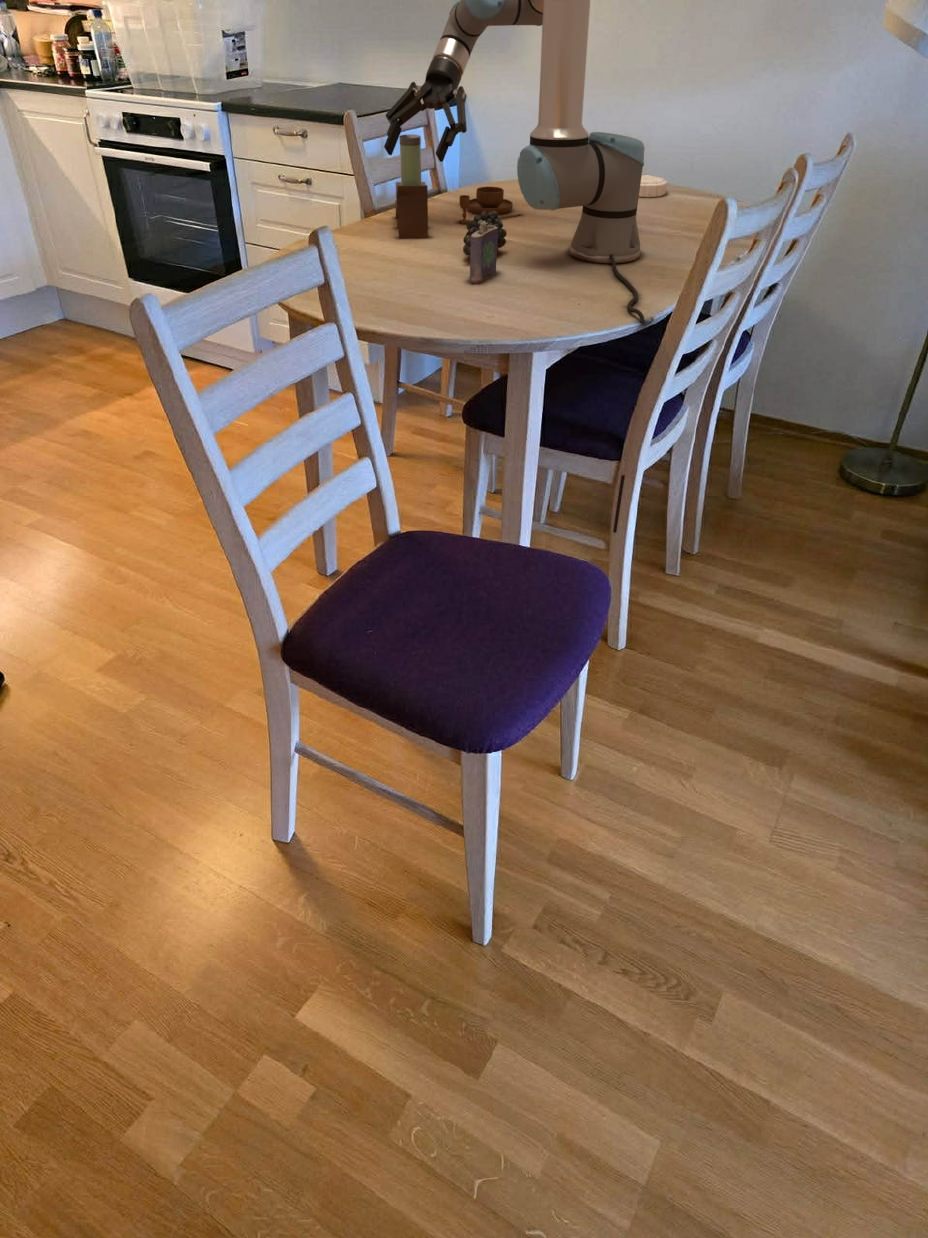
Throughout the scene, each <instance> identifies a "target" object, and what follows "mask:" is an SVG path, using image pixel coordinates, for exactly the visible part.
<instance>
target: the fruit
mask: <svg viewBox="0 0 928 1238" xmlns="http://www.w3.org/2000/svg"><path fill="white" fill-rule="evenodd" d="M498 217H500V216H499V214H498V213H497V212H496V211H492V212H490V213H489V212H487V211H483V212H482V214H478V213H475V214H474V215H473V217H472V218H473V219H472V220H469V221H470V222H469V223H467V224H465V225H466V229H467V232H466V234H465V236H463V241H462V242H463V244H464V245H463V247H462V252H463V254H464V255H465V256H467V257H468V258H469V259H470V254H471V235H472V234H473V233H474V232H476V231H478V230H480V229H479V227H480V225H481V224H480V223H481V222H480V223H479V224H478V222H479V221H481V220H483V221H485V222H486V223H488V224H486V226H487V225H491V226H495V227H498V242H497V253H498V252H499V249H501V248H502V247H504V246H505V245H506V243H507V240H506V236H507V235H508V234H507V233H508V232H507V230H506V229H505V228H503V227H504V223H503V221H502V220H501V219H498ZM483 221H482V222H483Z"/></svg>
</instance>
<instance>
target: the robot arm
mask: <svg viewBox="0 0 928 1238" xmlns="http://www.w3.org/2000/svg"><path fill="white" fill-rule="evenodd" d="M590 12H591V0H455V2H454V4H453V6H452V8H450V11H449V14H448V18H447V21H446V23H445V26H444V28H443V31H442V34H441V37H440V39H439V41H438V43H437V45H436V48H435V51H434V53H433V55H432V59H431V61H430V63H429V66H428V68H427V71H426V73H425V80H424V82H423V84H421V85H417V83H416V82H415V81H412V82H410V84H409V86H408V88H407V90H406V91H405V92H404V93H403V94H402V95H401V97H400V98H399V99H398V100H397V101H396V102H395V103H394V105H393V106H391V108H390V109H389V110H388V111H387V112H386V113H385V117H386V120H387V121H388V123H389V125H388V129H387V132H386V136H387V137H386V140H385V143H384V145H383V148H384V149H385V151H386V153H387V154H388V156H393V153H394V151H395V148H396V146H397V142H398V141H399V139H400V136H401V133H402V130H403V129H402V126H403V125H404V124H405V123H407V122H409V120H411V119H412V118H413V117H415V116H416V115H417V114H419V113H420V112H423V111H425V110H426V109H428V110H434V109H435V110H437V111H440V110H441V109H443V112H444V114H445V117H446V120H447V122H448V126H445V127H444V130H443V133H442V136H441V137H440V140H439V143H438V145H437V148H436V151H435V155H436V158H437V160H438V161H439V162H441V163H443V162H444V159H445V157H446V155H447V152H448V150H449V147H452V146H453V144H454V142H455V140H456V137H457V135H459V133H462V134H465V133H466V132H467V130H468V127H467V116H466V115H467V113H466V100H467V97H468V96H467V93H466V91H465V89H464V86H462V85H460V83H461V80H462V77H463V75H464V72H465V70H466V68H467V65H468V62H469V60H470V57H471V54H472V52H473V50H474V47H475V45H476V43H477V41H478V39H479V38H480V36H481V35H482V34H483V33H484V32H485V31H486V29H487V28H488V27H497V26H498V27H501V26H503V27H505V26H506V27H508V26H536V27H541V45H540V46H541V47H540V49H541V50H540V73H539V92H538V96H539V97H538V117H537V125H536V127H534V129H532V131H530V134H529V145H526V146H525V147H523V148H522V149H521V150H520V152H519V156H518V158H517V165H516V173H517V181H518V185H519V186H518V187H519V189H520V193H521V195H522V196H523V199H524V200H525V202H526V203H527V204H528V205H529V206H530V207H531V208H532V209H534V210H537V211H555V210H559V209H569V208H578V207H582V210H581V215H580V219H579V222H578V224H577V226H576V229H575V232H574V234H573V237H572V239H571V241H570V242H571V243H570V247H569V254H570V255H571V256H573V257H574V258H576V259H578V260H582V261H585V262H590V263H597V264H611V265H612V270H613V273H614V275H615V276H616V277H617V278H618V280H620V281H622V283H624V284H625V286H626V287H627V288H628V289H629V290H630V291H631V292H632V293H633V298H631V299H630V300H629V302H628V303H627V305H626V308H627V310H628V312H630V313H634V314H636V315H638V317H639V321H640V324H641V325H645V324H646V321H645V317H644V314H643V313H642V311H641V310H640V309H638V308H635V307H632V305H633V304H635V302H636V301H638V298H639V293H638V290H637V289H636V288H635V287H634V286H633V285H632V284H631V282H629V280H627V279H626V278H625V277H624V276H623V275H621V273H620V272H619V270H618V268H617V264H624V263H629V262H630V263H631V262H633V261H635V260H638V259H639V258H640V255H641V240H640V235H639V234H640V233H639V227H638V222H637V214H638V213H637V212H638V205H639V198H640V197H639V191H640V183H641V176H642V175H643V168H644V166H645V144H644V143H643V141H642V140H640V139H638V138H635V137H631V136H626V135H624V134H623V135H622V134H617V133H609V132H601V131H591V132H590V133H589V132H588V131H587V130H586V129H585V127H584V125H583V115H584V113H583V111H584V97H585V85H586V70H587V56H588V40H589V27H590ZM459 85H460V86H459ZM453 99H455V103H456V116H457V122H456V121H455V118H454V116H453V111H452V110H451V107H450V104H449V103H451V101H452V100H453ZM421 100H422V101H421ZM422 102H423V103H422ZM625 477H626V474H621V475H620V482H619V487H618V488H619V489H618V496H617V501H616V509H615V515H614V522H613V529H612V533H614V534H616V533H617V530H618V524H619V517H620V511H621V505H622V498H623V491H624V485H625Z"/></svg>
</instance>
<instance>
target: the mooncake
mask: <svg viewBox="0 0 928 1238" xmlns="http://www.w3.org/2000/svg"><path fill="white" fill-rule="evenodd" d="M667 186H668V181H667V180H666V179H665V178H663V177H660V176H659V177H658V176H655V175H647V174H645V175H644V174H642V176H641V183H640V191H639V198H659V197H662V196H664V195H666V193H667Z"/></svg>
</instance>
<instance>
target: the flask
mask: <svg viewBox="0 0 928 1238" xmlns="http://www.w3.org/2000/svg"><path fill="white" fill-rule="evenodd" d="M482 221H483V220H481V221H479V222H478V224H479V223H480V222H481V223H480V224H481V225H480V227H479V229H480V230H478V231H476V232H474V233H473V234H472V235H471V254H470V258H469V261H470V262H469V263H470V264H469V283H471V284H476V285H477V284H478V283H483V281H486V280H488V279H489V278H491V276H492V277H493V276H494V275H497V259H498V258H497V257H498V252H497V242H498V227H495V226H491V225H487V226H486V224H488V223H486V222H485V221H483V222H482Z"/></svg>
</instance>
